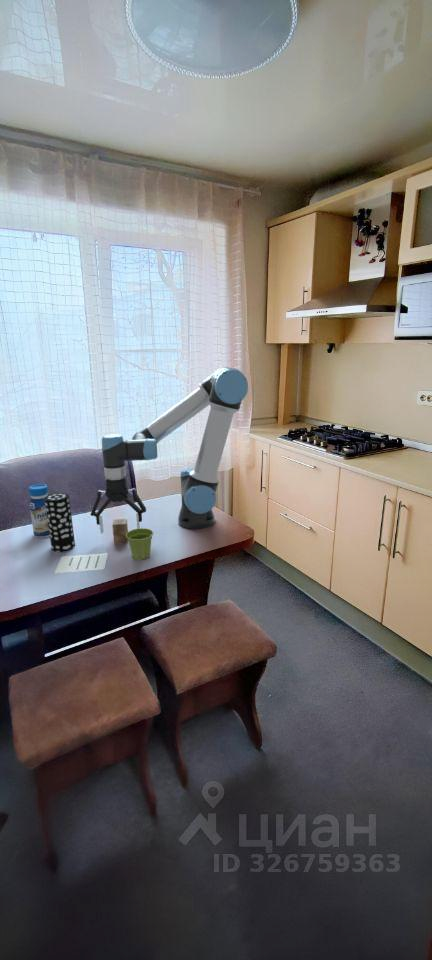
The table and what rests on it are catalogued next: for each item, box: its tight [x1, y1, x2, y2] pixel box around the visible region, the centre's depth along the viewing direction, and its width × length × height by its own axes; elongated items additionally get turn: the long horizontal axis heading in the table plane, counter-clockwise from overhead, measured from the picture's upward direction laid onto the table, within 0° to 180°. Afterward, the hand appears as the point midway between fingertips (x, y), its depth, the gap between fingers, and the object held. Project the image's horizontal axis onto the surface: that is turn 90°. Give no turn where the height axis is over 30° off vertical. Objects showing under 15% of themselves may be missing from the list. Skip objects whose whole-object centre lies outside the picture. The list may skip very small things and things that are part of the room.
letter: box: [54, 552, 109, 574], centre depth 149 cm, size 16×12×1 cm
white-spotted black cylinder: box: [44, 492, 76, 553], centre depth 159 cm, size 8×8×20 cm
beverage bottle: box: [28, 483, 50, 539], centre depth 171 cm, size 8×8×20 cm
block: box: [111, 518, 129, 545], centre depth 165 cm, size 5×5×8 cm
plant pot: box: [126, 527, 154, 561], centre depth 152 cm, size 9×9×9 cm
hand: (120, 530), depth 165 cm, fingers open, 13 cm apart
